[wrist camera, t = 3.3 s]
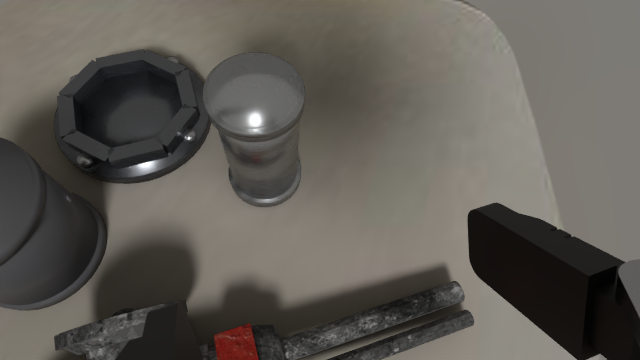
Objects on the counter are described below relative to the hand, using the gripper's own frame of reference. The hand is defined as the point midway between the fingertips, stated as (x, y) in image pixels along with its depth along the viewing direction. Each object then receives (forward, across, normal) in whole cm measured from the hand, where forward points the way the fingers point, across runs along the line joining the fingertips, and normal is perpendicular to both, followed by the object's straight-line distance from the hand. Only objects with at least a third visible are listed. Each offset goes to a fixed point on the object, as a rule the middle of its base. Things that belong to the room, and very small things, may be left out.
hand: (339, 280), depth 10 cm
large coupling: (+18, +15, +4) cm, 24 cm away
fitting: (+18, 0, +3) cm, 19 cm away
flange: (+24, +8, -2) cm, 25 cm away
